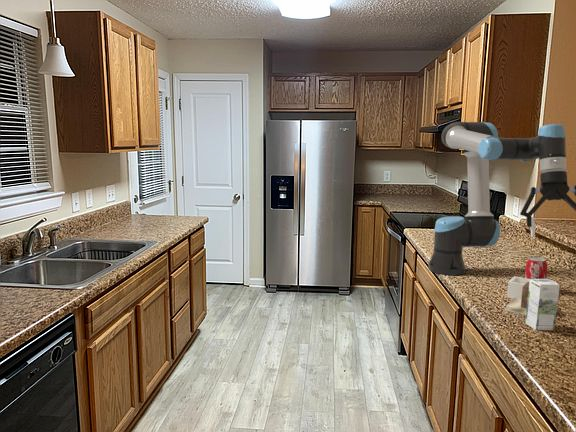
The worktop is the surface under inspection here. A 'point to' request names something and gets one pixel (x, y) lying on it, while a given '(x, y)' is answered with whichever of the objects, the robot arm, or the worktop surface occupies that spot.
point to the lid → (519, 301)
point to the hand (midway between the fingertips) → (556, 236)
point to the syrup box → (542, 304)
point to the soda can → (536, 268)
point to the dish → (516, 287)
